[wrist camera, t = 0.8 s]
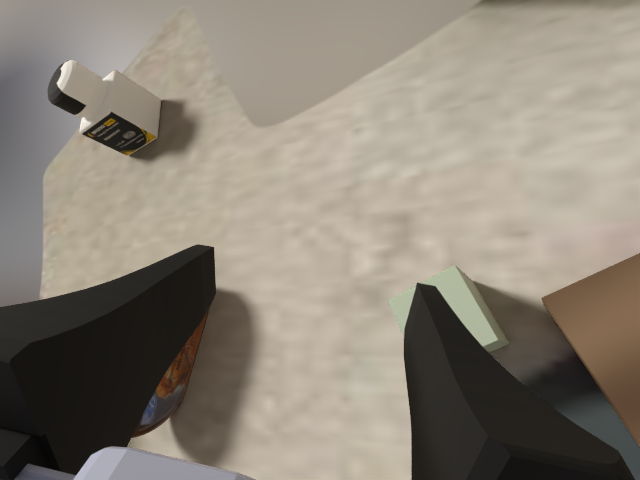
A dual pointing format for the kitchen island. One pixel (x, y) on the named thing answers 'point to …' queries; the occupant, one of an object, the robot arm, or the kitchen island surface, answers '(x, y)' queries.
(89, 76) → the medicine bottle
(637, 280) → the plinth
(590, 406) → the kitchen island surface
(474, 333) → the block
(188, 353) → the tin
